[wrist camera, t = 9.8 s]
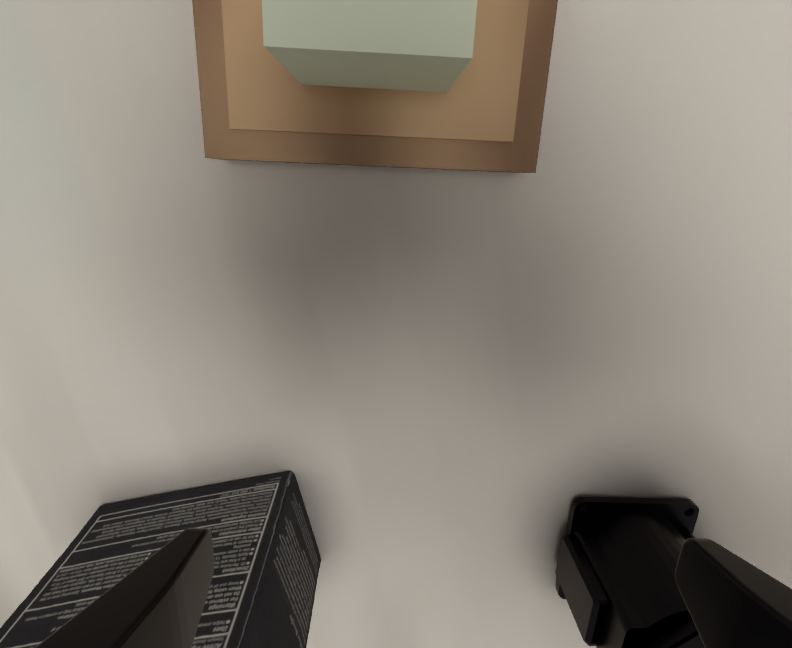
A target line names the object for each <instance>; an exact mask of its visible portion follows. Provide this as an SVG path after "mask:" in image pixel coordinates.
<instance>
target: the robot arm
mask: <svg viewBox="0 0 792 648" xmlns="http://www.w3.org/2000/svg"><path fill="white" fill-rule="evenodd" d="M582 506H585V507H584V508H581V507H582ZM580 508H581V509H580ZM687 509H688V510H687ZM685 510H686V511H685ZM698 513H699V509H698V507H697V506H696V505H695V503H694V502H693V501H691V500H689V499H663V498H621V497H578V498H576V499H575V500H574V501H573V502H572V505H571V510H570V515H569V521H568V526H567V531H566V534H565V535H564V536H563V537H562V541H561V546H560V551H559V556H558V562H557V567H556V576H557V582H556V590H557V592H558V595H559V596H560V597H561V598H563V599H567V602H568V604H569V607H570V609H571V611H572V614H573V616H574V619H575V621H576V623H577V626H578V628H579V631H580V633H581V635H582V638H583V640H584V641H585V642H586V643H587V645H589V646H596V647H597V648H792V589H791V588H789V587H787V586H786V585H784V584H782V583H781V582H779V581H778V580H776V579H774V578H773V577H771V576H769V575H768V574H766V573H764V572H763V571H761V570H760V569H758V568H756V567H755V566H753V565H751V564H750V563H748V562H747V561H745V560H743V559H742V558H740V557H738V556H737V555H735V554H733V553H732V552H730V551H729V550H727V549H725V548H724V547H722V546H720V545H719V544H717V543H715V542H714V541H712V540H710V539H704V538H695V537H694V535H693V534H692V533H693V530H694V527H695V523H696V520H697V517H698ZM213 573H214V553H213V543H212V535H211V532H210V530H209V529H207V528H187V529H185V530H184V531H182V532H181V533H180V534H179V535H177V536H176V537H175V538H173V539H172V540H171V541H170V542H168V543H167V544H166V545H165V546H163V547H162V548H161V549H159V550H158V551H157V552H156V553H154V554H153V555H152V556H151V557H149V558H148V559H147V560H145V561H144V562H143V563H142V564H140V565H139V566H138V567H137V568H135V569H134V570H133V571H131V572H130V573H129V574H128V575H126V576H125V577H124V578H123V579H121V580H120V581H119V582H118V583H116V584H115V585H114V586H112V587H111V588H110V589H109V590H107V591H106V592H105V593H104V594H102V595H101V596H100V597H98V598H97V599H96V600H95V601H93V602H92V603H91V604H90V605H88V606H87V607H86V608H84V609H83V610H82V611H81V612H79V613H78V614H77V615H76V616H74V617H73V618H72V619H70V620H69V621H68V622H67V623H65V624H64V625H63V626H62V627H60V628H59V629H58V630H56V631H55V632H54V633H53V634H51V635H50V636H49V637H48V638H46V639H45V640H44V641H43V642H41V643H40V644H39V645H37V646H36V647H35V648H192V645H193V641H194V638H195V635H196V631H197V628H198V625H199V621H200V618H201V615H202V611H203V608H204V604H205V601H206V598H207V594H208V591H209V588H210V584H211V581H212V578H213Z"/></svg>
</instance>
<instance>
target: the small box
mask: <svg viewBox="0 0 792 648" xmlns="http://www.w3.org/2000/svg"><path fill="white" fill-rule="evenodd" d="M187 528H207V529H209V530H210V532H211V535H212V543H213V553H214V573H213V578H212V581H211V584H210V588H209V591H208V594H207V598H206V601H205V604H204V608H203V611H202V615H201V618H200V621H199V625H198V628H197V631H196V635H195V638H194V641H193V645H192V648H306V645H307V639H308V633H309V628H310V621H311V616H312V609H313V603H314V596H315V590H316V584H317V578H318V572H319V568H320V562H321V559H320V555H319V552H318V548H317V545H316V541H315V538H314V535H313V532H312V528H311V525H310V522H309V519H308V516H307V513H306V510H305V507H304V504H303V500H302V497H301V494H300V491H299V488H298V484H297V481H296V478H295V476H294V474H293V473H292V472H291V471H289V472H283V473H277V474H271V475H265V476H260V477H255V478H250V479H243V480H238V481H233V482H227V483H223V484H217V485H211V486H206V487H200V488H195V489H190V490H184V491H178V492H174V493H168V494H163V495H157V496H152V497H147V498H141V499H135V500H130V501H125V502H120V503H115V504H109V505H104V506H100V507H99V508H98V509H97V511H96V512H95V513H94V514H93V516H92V517H91V518H90V520H89V521H88V522H87V524H86V525H85V526H84V527H83V529H82V530H81V531H80V533H79V534H78V535H77V537H76V538H75V539H74V540H73V541H72V542H71V544H70V545H69V547H68V548H67V549H66V550H65V552H64V553H63V554H62V555H61V556H60V557H59V559H58V560H57V561H56V562H55V563H54V565H53V566H52V568H51V569H50V570H49V571H48V572H47V573H46V574H45V576H44V577H43V578H42V579H41V580H40V582H39V583H38V584H37V585H36V586H35V588H34V589H33V590H32V592H31V593H30V594H29V595H28V597H27V598H26V599H25V600H24V601H23V602H22V603H21V604H20V605H19V606H18V608H17V609H16V610H15V612H14V613H13V614H12V615H11V616H10V618H9V619H8V620H7V621H6V622H5V623H4V625H3V626H2V627H1V628H0V648H35V647H36V646H37V645H39V644H40V643H41V642H43V641H44V640H45V639H46V638H48V637H49V636H50V635H51V634H53V633H54V632H55V631H56V630H58V629H59V628H60V627H62V626H63V625H64V624H65V623H67V622H68V621H69V620H70V619H72V618H73V617H74V616H76V615H77V614H78V613H79V612H81V611H82V610H83V609H84V608H86V607H87V606H88V605H90V604H91V603H92V602H93V601H95V600H96V599H97V598H98V597H100V596H101V595H102V594H104V593H105V592H106V591H107V590H109V589H110V588H111V587H112V586H114V585H115V584H116V583H118V582H119V581H120V580H121V579H123V578H124V577H125V576H126V575H128V574H129V573H130V572H131V571H133V570H134V569H135V568H137V567H138V566H139V565H140V564H142V563H143V562H144V561H145V560H147V559H148V558H149V557H151V556H152V555H153V554H154V553H156V552H157V551H158V550H159V549H161V548H162V547H163V546H165V545H166V544H167V543H168V542H170V541H171V540H172V539H173V538H175V537H176V536H177V535H179V534H180V533H181V532H182V531H184V530H185V529H187Z"/></svg>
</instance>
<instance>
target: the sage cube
mask: <svg viewBox="0 0 792 648" xmlns="http://www.w3.org/2000/svg"><path fill="white" fill-rule="evenodd" d="M476 11H477V0H262V18H263V45H264V47H265V48H266V49H267V50H268V51H269V52H270V53H271V54H272V55H273V56H274V57H275V58H276V59H277V60H278V61H279V62H280V63H281V64H282V65H283V66H284V68H285V69H286V70H287V71H288V72H289V73H290V74H291V75H292V76H293V77H294V78H295V79H296V80H297V81H298V82H299V83H300V84H302V85H320V86H338V87H356V88H374V89H392V90H411V91H429V92H448V91H449V89H450V88H451V87H452V85H453V84H454V82H455V81H456V80H457V78H458V77H459V76H460V74H461V73H462V72H463V70H464V69H465V68H466V66H467V65H468V63H469V62H470V61H471V59H472V57H473V46H474V34H475V23H476Z"/></svg>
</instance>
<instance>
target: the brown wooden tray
mask: <svg viewBox="0 0 792 648" xmlns="http://www.w3.org/2000/svg"><path fill="white" fill-rule="evenodd" d="M192 2H193V14H194V26H195V38H196V50H197V62H198V75H199V87H200V99H201V111H202V123H203V135H204V148H205V158H212V159H224V160H246V161H269V162H291V163H314V164H336V165H359V166H381V167H404V168H427V169H449V170H472V171H494V172H517V173H536V165H537V157H538V149H539V142H540V134H541V126H542V118H543V111H544V103H545V95H546V88H547V80H548V72H549V64H550V57H551V49H552V41H553V33H554V26H555V18H556V10H557V2H558V0H477V11H476V23H475V34H474V46H473V57H472V59H471V61H470V62H469V63H468V65H467V66H466V68H465V69H464V70H463V72H462V73H461V74H460V76H459V77H458V78H457V80H456V81H455V82H454V84H453V85H452V87H451V88H450V89H449V91H448V92H429V91H411V90H392V89H374V88H356V87H338V86H320V85H302V84H300V83H299V82H298V81H297V80H296V79H295V78H294V77H293V76H292V75H291V74H290V73H289V72H288V71H287V70H286V69H285V68H284V66H283V65H282V64H281V63H280V62H279V61H278V60H277V59H276V58H275V57H274V56H273V55H272V54H271V53H270V52H269V51H268V50H267V49H266V48H265V47H264V45H263V18H262V0H192Z"/></svg>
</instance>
